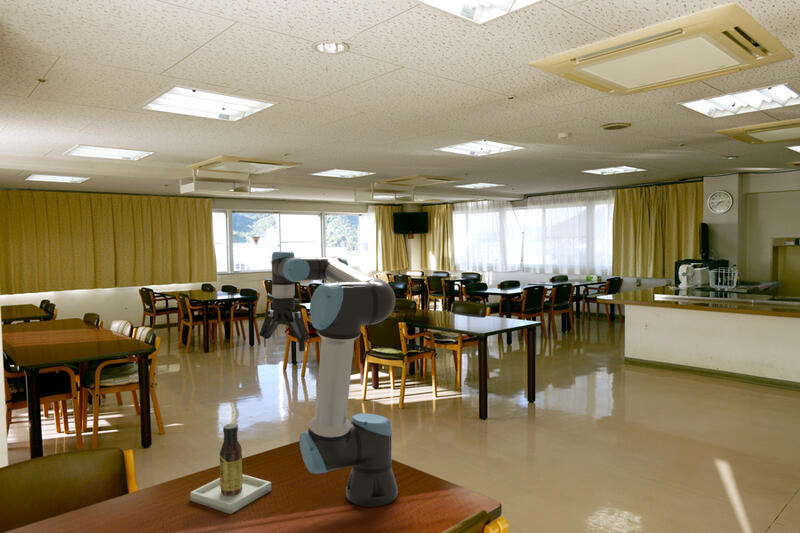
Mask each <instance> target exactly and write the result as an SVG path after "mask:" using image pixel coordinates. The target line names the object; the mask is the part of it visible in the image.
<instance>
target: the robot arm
mask: <svg viewBox="0 0 800 533" xmlns="http://www.w3.org/2000/svg"><path fill="white" fill-rule="evenodd" d="M270 264H271V284H272V285H271V288H272V289H271V296H272V299H271V304H272V305H271V306H272V307H271V308H272V309H268V310H266V312H265V318H264V321H263V323H262V325H261V327H260V328H261V329H260V330H259V334H258V335H259V337H262V338H263V342H264V344H263V345H264V348H265V358H272V357H273V356H274V355H273V354H274V350H273V349H274V346H273V343H274V342H273V339H274V338H273V333H275V331H276V330H277V328H278V326H279V325H283V326H287V327H289V329H290V330H291V332H292V334H293V335H294V337H295V338H296V340H297V341H296V342H295V344H296V345H295V348H296V350H295V353H296V355H295V356H296V357H295V360H296V362H297V363H298V362H302V361H304V352H305V350H306V347H305V346H306V344H305V342H306V341H308V340H310V335H309V332H308V329H307V327H306V324H305V322H304V320H303V312H302V311H297V312H295V307H296V300H295V299H296V297H294V296H296V295H295V294H296V293H295V292H296V291H295V284H296V282H297V283H298V282H304V281H305V282H306V281H328V283H321V284H320V285H318V286H317V288H316V289H314V292H313V294H312V296H311V299H310V302H309V303H310V304H309V315H310V316H309V319H310V323H311V325H312V327H313V328H314V329H316V334H317V335H318V336H319V337H320V338H321V340H320V341H321V344H320V355H319V365H318V378H317V380H318V381H317V390H316V402H315V412H314V416H313V417H312V418H311V419H310V420H309V422H308V428H307V429H308V430H304V431H302V432H301V434H299V449H300V454H301V456H302V460H303V462H304V465H305V467H306V469H307V470H308V471H309V473H311V474H314V475H316V474H322V473H324V474H326V473H328V472H331V471H336V470H340V469H345V468H348V467H351V471H350V474H349V478H348V480H347V484H346V487H345V497H346V499H347V501H349V502H350V503H352V504H353V505H356V506H359V507H367V508H368V507H369V508H371V507H373V508H374V507H381V506H385V505H388V504H390V503H392V502H394V501H395V500H396V499H397V498H398V495H399V492H398V491H399V490H398V489H399V488H398V483H397V481H396V480H397V479H396V478H395V474H394V472H393V471H394V470H393V468H392V462H393V461H392V458H393V456H392V452H393V450H392V447H393V446H392V436H393V433H392V424H391V421H390V420H389V419H388V418H387V417H385V416H383V415H379V414H376V413H375V414H374V413H357V414H354V415H352V416H351V419H350V420H349V419H348V418H347V417H348V416H347V415H348V405H349V404H348V403H349V396H350V384H351V374H352V364H353V357H354V356H353V355H354V344H355V340H357V339H358V338H360V336H361V332H362V327H363V326H369V325H377V324H379V323H381V322H383V321H384V320H386V319H387V318H389V317H390V315H391V314H392V313H393V311H394V309H395V306H396V295H395V292H394V290H393V288H392V287H391V285H390V284H389V283H387V282H386V281H384V280H383V279H381V278H378V277H370V276H367V275H365V274H363V273H361V272H360V271H358V270H356V269H354V268H353V267H351V266H350V265H349V262H348V260H347V259H346V258H345V257H341V256H340V257H339V256H332V257H331V256H327V257H325V256H324V257H321V256H320V257H295V253H294V252H293V251H274V252H272V253H271V263H270Z"/></svg>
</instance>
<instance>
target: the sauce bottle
mask: <svg viewBox="0 0 800 533" xmlns="http://www.w3.org/2000/svg"><path fill="white" fill-rule="evenodd" d="M238 427H239V426H238V424H236V423H229V424H225V425H223V428H222V431H223V442H222V445H221V448H220V452H219V478H220V488H221V492H222V494H223V495H236V494H238V493H239V492H240V491H241V490H242V474H243V455H242V451H243V448H242V446H241V443H240V442H239V440H238V429H239V428H238Z"/></svg>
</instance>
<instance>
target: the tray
mask: <svg viewBox="0 0 800 533" xmlns="http://www.w3.org/2000/svg"><path fill="white" fill-rule="evenodd" d="M271 491H272V482H271V481H268V480H264V479H262V478H257V477H253V476H251V475H248V474H243V473H242V490H241V491H240V492H239V493H238V494H236V495H223V494H222V492H221V488H220V477H218V478H216V479H214V480H212V481H210V482H208V483H206V484H204V485H202V486H200V487H198V488H196V489H194V490H192V491H190V501H191V502H194V503H196V504H200V505H203V506H206V507H207V508H211V509H214V510H217V511H220V512H223V513H226V514H229V515H231V514H233V513H234V512H237V511H239V510H240V509H242V508H244V507H245V506H247V505H249V504H250V503H253V502H254V501H255V500H258V499H259V498H261V497H262V496H264V495H266V494H267V493H270V492H271Z"/></svg>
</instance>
